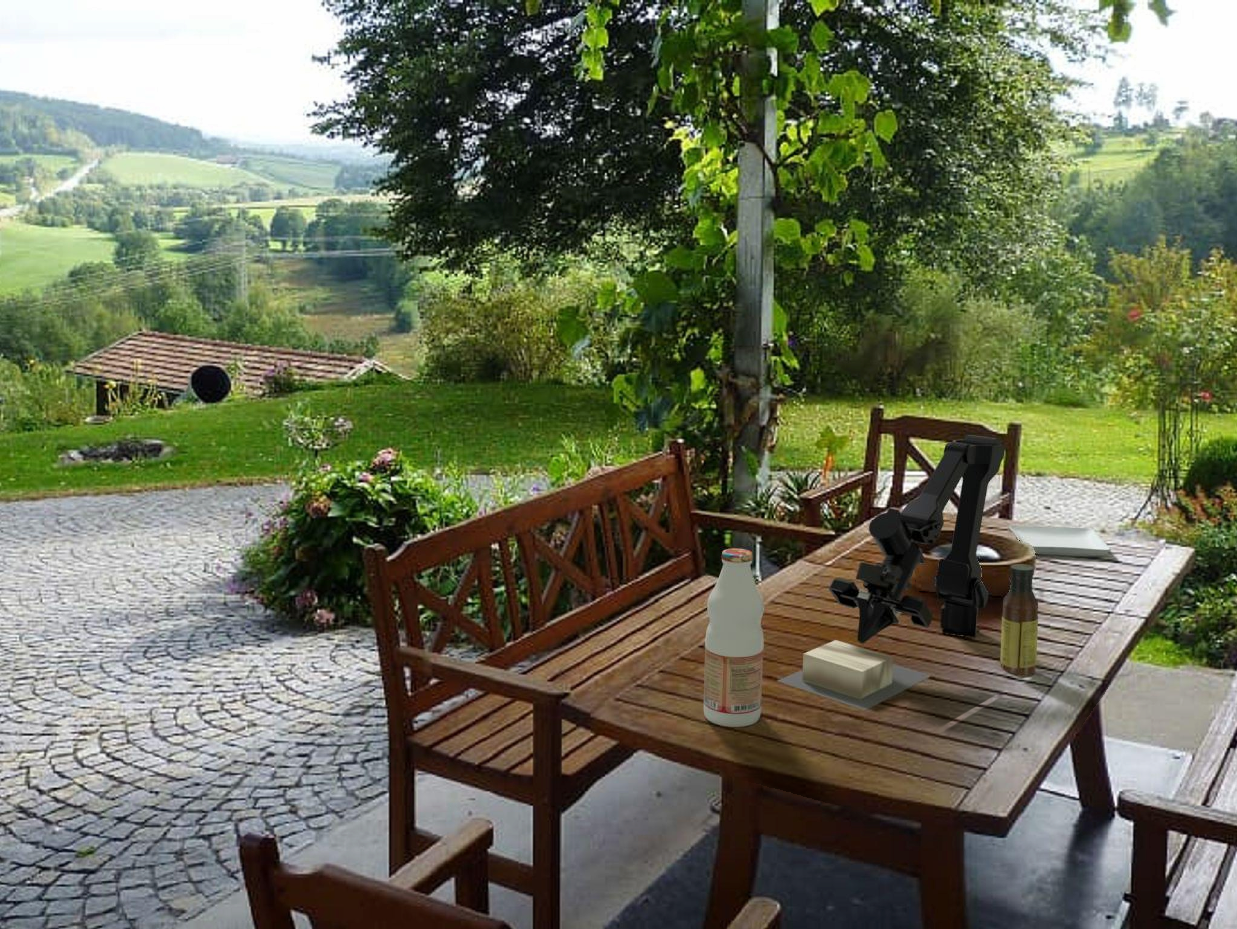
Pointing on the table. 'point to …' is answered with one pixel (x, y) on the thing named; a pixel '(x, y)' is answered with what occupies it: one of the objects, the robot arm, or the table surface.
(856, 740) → the table surface
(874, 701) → the rubber mat
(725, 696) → the white milk bottle
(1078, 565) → the table surface
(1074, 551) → the salad plate
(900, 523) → the robot arm
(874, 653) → the birch block
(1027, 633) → the sauce bottle
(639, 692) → the table surface
